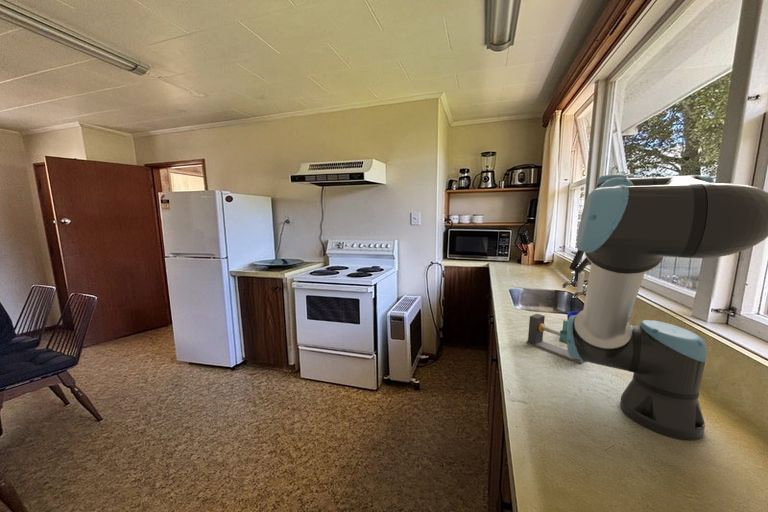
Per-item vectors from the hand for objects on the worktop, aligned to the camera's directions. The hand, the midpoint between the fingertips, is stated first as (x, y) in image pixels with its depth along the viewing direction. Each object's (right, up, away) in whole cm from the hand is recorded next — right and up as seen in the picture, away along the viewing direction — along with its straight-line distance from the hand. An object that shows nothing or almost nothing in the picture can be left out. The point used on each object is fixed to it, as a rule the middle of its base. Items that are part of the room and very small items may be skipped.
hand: (598, 295), depth 94 cm
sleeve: (-4, -18, +9) cm, 20 cm away
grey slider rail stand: (-6, -22, +13) cm, 26 cm away
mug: (+10, -21, +23) cm, 33 cm away
